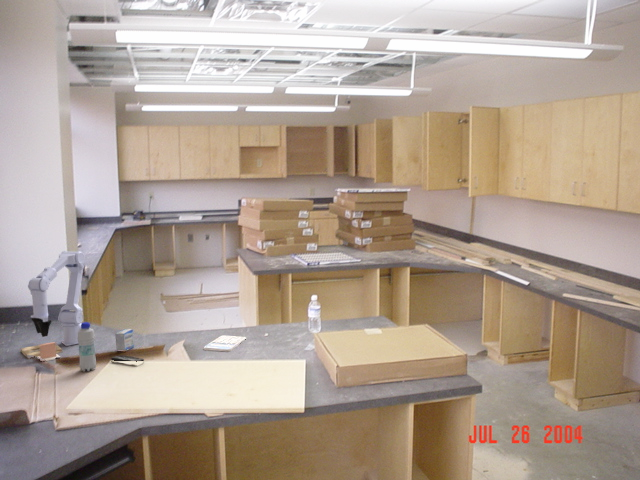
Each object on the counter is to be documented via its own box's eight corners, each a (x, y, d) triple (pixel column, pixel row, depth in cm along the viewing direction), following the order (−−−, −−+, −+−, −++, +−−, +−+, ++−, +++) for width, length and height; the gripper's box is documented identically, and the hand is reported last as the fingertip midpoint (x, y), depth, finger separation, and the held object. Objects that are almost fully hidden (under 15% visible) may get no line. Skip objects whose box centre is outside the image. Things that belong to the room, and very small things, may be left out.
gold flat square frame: (53, 345, 266) (53, 341, 265) (62, 352, 255) (61, 347, 255) (20, 351, 257) (20, 347, 257) (28, 358, 246) (28, 354, 246)
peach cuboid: (55, 355, 249) (54, 341, 249) (56, 356, 248) (55, 342, 247) (40, 358, 245) (39, 344, 245) (41, 359, 244) (40, 345, 243)
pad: (55, 354, 252) (55, 352, 252) (60, 358, 246) (60, 357, 246) (36, 357, 247) (36, 356, 247) (41, 362, 241) (41, 361, 241)
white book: (247, 340, 271) (246, 336, 270) (229, 352, 251) (229, 348, 251) (221, 338, 274) (221, 334, 274) (202, 350, 255) (202, 346, 255)
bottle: (100, 367, 233) (97, 320, 230) (89, 373, 226) (85, 325, 224) (87, 366, 235) (84, 319, 233) (75, 371, 228) (72, 323, 226)
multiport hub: (118, 359, 244) (118, 354, 244) (144, 363, 238) (144, 358, 238) (111, 362, 240) (110, 357, 240) (137, 367, 234) (136, 361, 234)
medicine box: (125, 352, 253) (124, 333, 252) (116, 351, 254) (115, 333, 253) (134, 347, 261) (133, 328, 260) (125, 346, 262) (124, 328, 261)
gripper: (25, 303, 250) (28, 333, 252) (34, 308, 239) (37, 339, 241) (42, 300, 255) (45, 329, 257) (52, 306, 244) (54, 336, 246)
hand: (42, 334), depth 249 cm, fingers open, 7 cm apart
